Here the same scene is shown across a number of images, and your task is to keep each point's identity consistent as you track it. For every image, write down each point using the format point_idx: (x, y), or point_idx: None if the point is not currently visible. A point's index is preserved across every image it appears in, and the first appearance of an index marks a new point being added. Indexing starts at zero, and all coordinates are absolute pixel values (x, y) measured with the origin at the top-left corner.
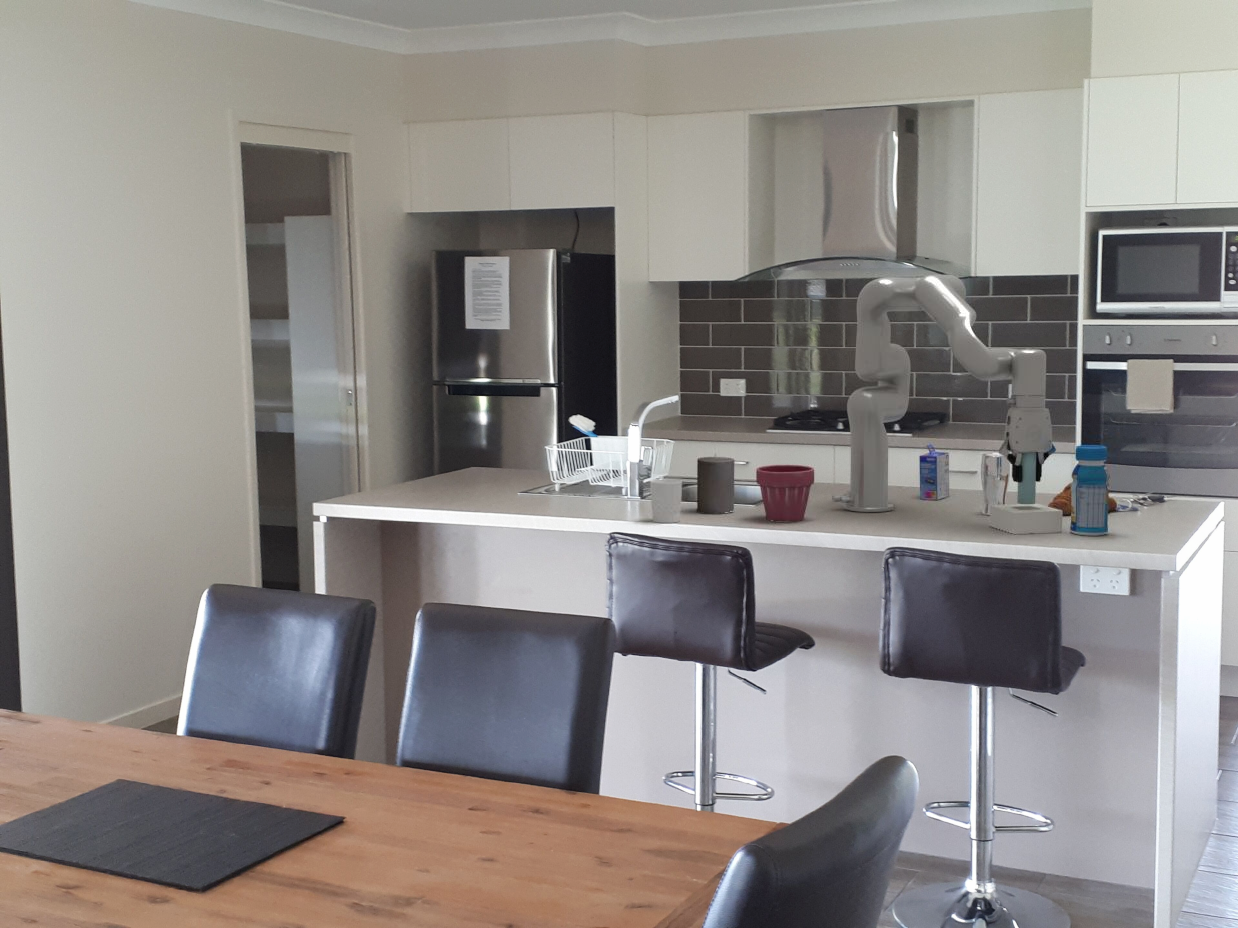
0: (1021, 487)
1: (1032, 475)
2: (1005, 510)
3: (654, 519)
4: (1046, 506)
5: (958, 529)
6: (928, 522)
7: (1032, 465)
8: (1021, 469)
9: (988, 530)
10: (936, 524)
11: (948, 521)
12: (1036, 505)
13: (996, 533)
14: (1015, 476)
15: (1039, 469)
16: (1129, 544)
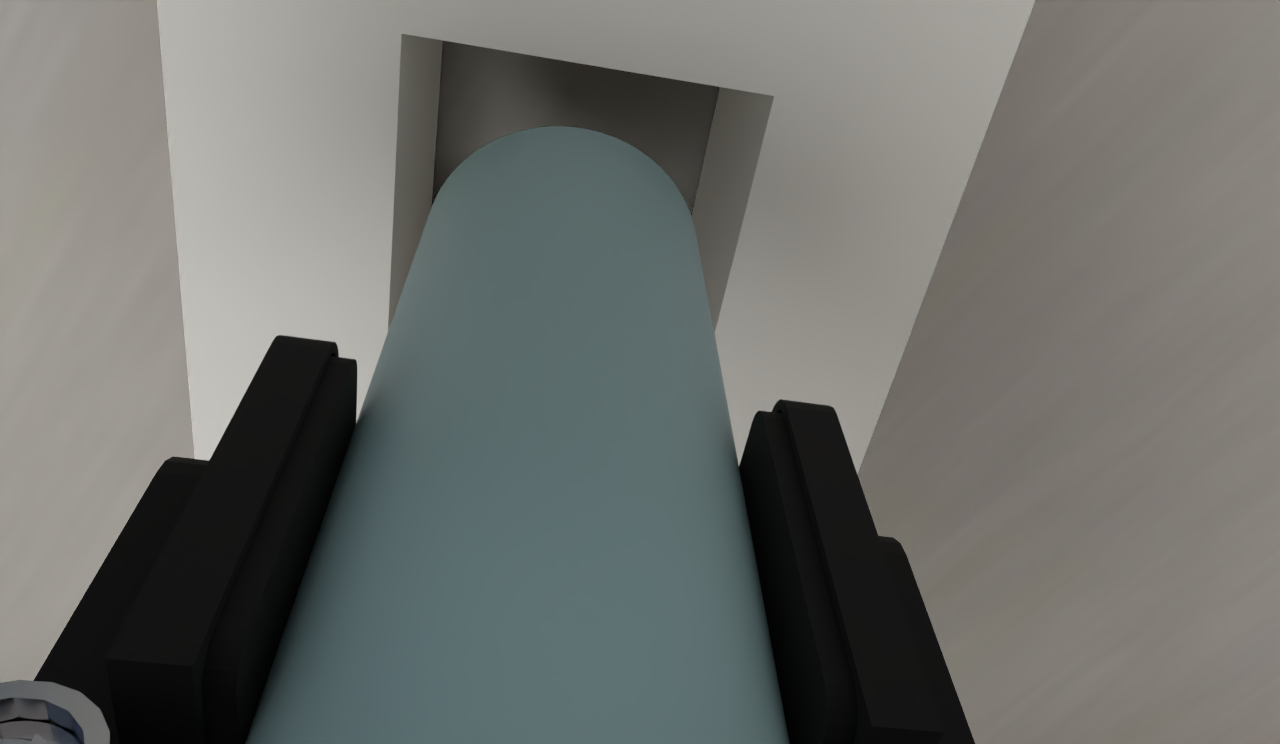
0: (719, 365)
1: (521, 417)
2: (961, 188)
3: None
4: (190, 230)
5: (1170, 379)
6: (1070, 699)
7: (506, 642)
8: (856, 618)
9: (979, 224)
10: (1098, 622)
11: None
12: None
13: (1067, 23)
14: (897, 554)
15: (221, 536)
16: None
